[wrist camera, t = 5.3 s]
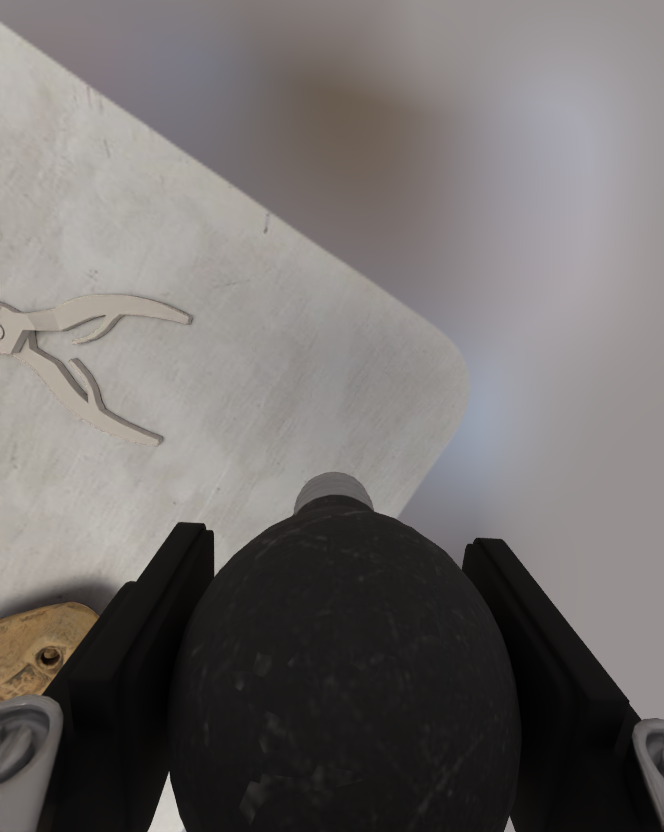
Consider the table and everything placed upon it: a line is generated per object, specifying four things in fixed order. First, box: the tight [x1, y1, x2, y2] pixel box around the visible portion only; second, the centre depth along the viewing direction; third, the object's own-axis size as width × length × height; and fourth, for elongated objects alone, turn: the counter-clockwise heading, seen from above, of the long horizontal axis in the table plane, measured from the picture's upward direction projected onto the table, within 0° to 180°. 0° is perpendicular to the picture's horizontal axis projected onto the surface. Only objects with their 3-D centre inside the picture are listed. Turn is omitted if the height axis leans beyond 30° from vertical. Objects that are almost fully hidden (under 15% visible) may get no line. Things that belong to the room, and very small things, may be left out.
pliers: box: [0, 295, 192, 446], centre depth 26 cm, size 10×2×15 cm
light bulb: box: [166, 472, 522, 832], centre depth 9 cm, size 6×6×10 cm
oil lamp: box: [0, 602, 99, 702], centre depth 29 cm, size 11×15×8 cm
